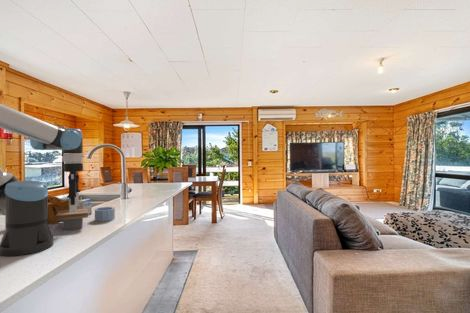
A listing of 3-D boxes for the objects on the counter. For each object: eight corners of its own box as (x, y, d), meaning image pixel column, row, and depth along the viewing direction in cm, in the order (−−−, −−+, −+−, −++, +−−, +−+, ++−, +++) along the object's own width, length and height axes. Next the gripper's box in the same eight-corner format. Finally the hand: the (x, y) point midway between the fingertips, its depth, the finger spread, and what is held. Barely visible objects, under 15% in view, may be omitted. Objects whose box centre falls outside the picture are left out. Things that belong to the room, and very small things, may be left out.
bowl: (114, 220, 130) (114, 209, 130) (94, 222, 126) (94, 211, 126) (114, 216, 138) (114, 206, 138) (94, 218, 134) (94, 207, 134)
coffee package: (29, 193, 126) (75, 192, 127) (36, 215, 130) (80, 214, 131) (13, 204, 117) (63, 202, 117) (21, 227, 121) (69, 225, 122)
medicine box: (83, 217, 136) (83, 201, 136) (74, 217, 136) (74, 201, 136) (91, 214, 144) (91, 198, 144) (83, 214, 144) (83, 198, 144)
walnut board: (87, 217, 116) (87, 213, 116) (55, 220, 110) (55, 215, 110) (88, 212, 126) (88, 208, 126) (59, 214, 121) (59, 210, 121)
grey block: (81, 227, 117) (81, 216, 117) (63, 230, 113) (63, 218, 113) (82, 224, 123) (82, 213, 123) (65, 226, 120) (65, 215, 120)
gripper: (81, 163, 109) (82, 213, 109) (84, 161, 131) (85, 203, 131) (59, 164, 105) (61, 216, 106) (66, 162, 127) (67, 204, 128)
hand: (74, 209), depth 118 cm, fingers open, 13 cm apart
